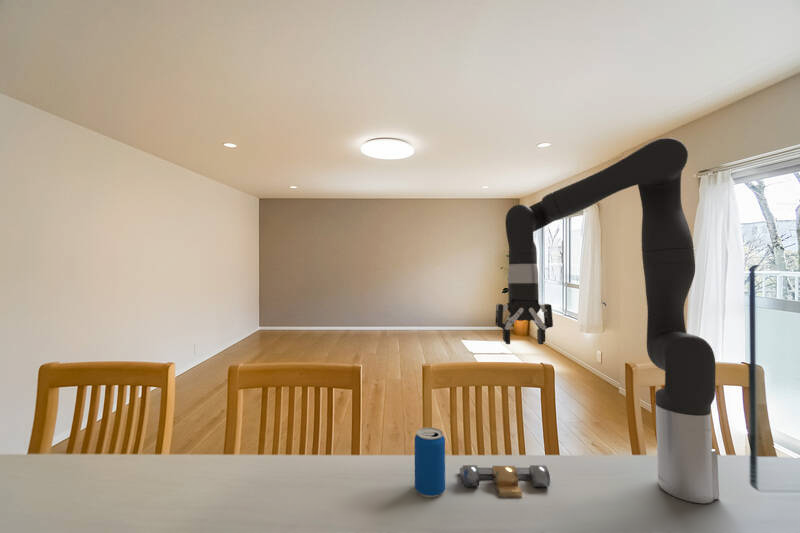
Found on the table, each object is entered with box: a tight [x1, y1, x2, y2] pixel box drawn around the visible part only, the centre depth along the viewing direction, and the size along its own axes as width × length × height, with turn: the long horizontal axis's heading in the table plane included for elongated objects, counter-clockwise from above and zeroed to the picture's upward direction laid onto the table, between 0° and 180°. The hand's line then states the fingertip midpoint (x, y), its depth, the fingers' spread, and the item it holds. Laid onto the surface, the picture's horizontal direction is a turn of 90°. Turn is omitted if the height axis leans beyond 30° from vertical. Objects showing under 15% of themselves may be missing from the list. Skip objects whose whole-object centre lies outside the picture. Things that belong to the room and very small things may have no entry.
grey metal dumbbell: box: [459, 464, 551, 488], centre depth 78 cm, size 18×7×4 cm, turn 90°
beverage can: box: [414, 427, 446, 499], centre depth 75 cm, size 6×6×12 cm
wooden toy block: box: [491, 465, 523, 498], centre depth 76 cm, size 4×6×4 cm
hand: (524, 344), depth 92 cm, fingers open, 8 cm apart
